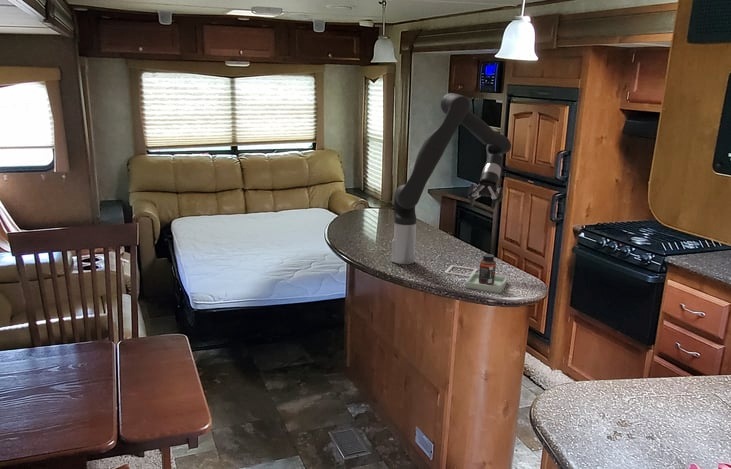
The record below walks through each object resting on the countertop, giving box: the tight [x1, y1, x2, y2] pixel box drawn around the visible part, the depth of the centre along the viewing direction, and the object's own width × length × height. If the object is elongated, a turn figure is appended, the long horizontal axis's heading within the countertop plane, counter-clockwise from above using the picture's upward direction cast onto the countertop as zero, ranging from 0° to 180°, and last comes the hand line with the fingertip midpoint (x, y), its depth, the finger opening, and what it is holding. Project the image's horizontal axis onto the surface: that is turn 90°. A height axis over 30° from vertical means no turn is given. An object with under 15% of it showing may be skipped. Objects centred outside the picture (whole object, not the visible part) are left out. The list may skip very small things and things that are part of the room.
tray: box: [464, 271, 509, 294], centre depth 220 cm, size 14×14×2 cm
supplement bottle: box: [478, 253, 497, 285], centre depth 219 cm, size 6×6×11 cm
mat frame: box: [443, 264, 479, 278], centre depth 236 cm, size 11×11×1 cm
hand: (481, 207), depth 237 cm, fingers open, 8 cm apart
